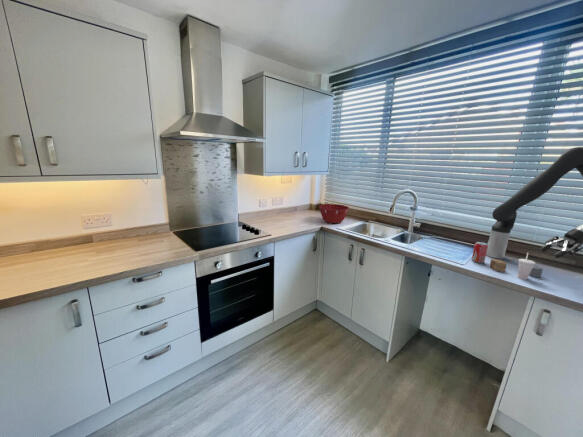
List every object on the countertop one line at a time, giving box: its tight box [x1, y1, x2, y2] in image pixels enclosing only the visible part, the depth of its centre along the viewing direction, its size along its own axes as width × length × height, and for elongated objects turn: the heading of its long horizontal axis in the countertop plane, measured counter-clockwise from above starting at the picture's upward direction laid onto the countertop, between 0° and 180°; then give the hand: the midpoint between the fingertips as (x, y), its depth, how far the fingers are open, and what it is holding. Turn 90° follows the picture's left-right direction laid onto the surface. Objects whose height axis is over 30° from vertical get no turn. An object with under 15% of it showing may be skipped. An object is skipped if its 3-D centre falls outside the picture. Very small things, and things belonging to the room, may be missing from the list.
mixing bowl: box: [318, 203, 350, 224], centre depth 233 cm, size 28×28×15 cm
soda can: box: [471, 241, 488, 264], centre depth 147 cm, size 6×6×12 cm
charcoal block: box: [528, 264, 544, 278], centre depth 131 cm, size 5×5×5 cm
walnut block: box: [489, 258, 508, 273], centre depth 137 cm, size 5×5×5 cm
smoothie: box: [517, 252, 536, 280], centre depth 126 cm, size 6×6×14 cm
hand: (548, 253), depth 123 cm, fingers open, 8 cm apart
